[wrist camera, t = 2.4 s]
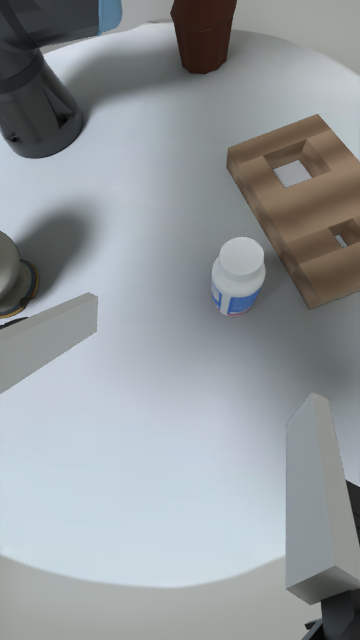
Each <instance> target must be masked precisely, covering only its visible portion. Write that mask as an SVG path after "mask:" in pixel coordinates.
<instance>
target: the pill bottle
mask: <svg viewBox="0 0 360 640" xmlns="http://www.w3.org/2000/svg"><path fill="white" fill-rule="evenodd" d="M263 261H264V251H263V249H262V247H261V245H260V244H259V243H258V242H257V241H255V240H253V239H251V238H248V237H236V238H233V239H231V240H229V241H227V242H226V243H225V244H224V245H223V246H222V248H221V250H220V253H219V256H218V257H217V259H216V260H215V262H214V264H213V267H212V301H213V304H214V306H215V308H216V309H217V310H218V311H219V312H220V313H222V314H224V315H227V316H240V315H242V314H244V313H246V312H247V311H248V310H249V309H250V308H251V307H252V305H253V304H254V301H255V299H256V297H257V295H258V293H259V291H260V288H261V286H262V284H263V282H264V279H265V274H266V269H265V265H264V262H263Z"/></svg>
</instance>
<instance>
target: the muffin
mask: <svg viewBox="0 0 360 640" xmlns="http://www.w3.org/2000/svg"><path fill="white" fill-rule="evenodd" d="M236 2H237V0H174V4H173V6H172V10H171V13H170V14H171V17H172V20H173V22H174V27H175V32H176V37H177V42H178V47H179V52H180V57H181V62H182V67H183V68H185V69H186V70H188V71H189V72H190V73H199V74H205V73H208V72H210V71H214V70H218V68H219V67H220V66H221V65H222V64H223V63H224V62H226V58H227V51H228V45H229V39H230V32H231V26H232V20H233V14H234V11H235V8H236Z"/></svg>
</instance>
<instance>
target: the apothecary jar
mask: <svg viewBox="0 0 360 640" xmlns="http://www.w3.org/2000/svg"><path fill="white" fill-rule="evenodd" d="M38 286H39V276H38V272H37V270H36V268H35V267H34V266H33V265H32V264H31V263H30V262H28V261H25V260H22V259H20V256H19V252H18V249H17V247H16V245H15V244H14V242H13V241H12V240H11V238H10V237H9V236H7V235H6V234H5V233H3V232H1V231H0V319H1V318H7V317H11V316H13V315H15V314H17V313H19V312H20V311H22V310H23V309H24V308H25V306H26V304H27V302H28V300H30V299H32V298H33V297H34V296H35V294H36V292H37V289H38Z"/></svg>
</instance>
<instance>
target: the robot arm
mask: <svg viewBox="0 0 360 640" xmlns="http://www.w3.org/2000/svg"><path fill="white" fill-rule="evenodd" d="M121 19H122V3H121V0H0V132H1V134H2V136H3V138H4V139H5V141H6V142H7V143H8V144H9V146H10V147H11V148H12V149H13V151H14V152H15V153H17V154H18V155H20V156H23V157H27V158H40V157H45V156H49V155H51V154H54V153H56V152H58V151H60V150H62V149H63V148H65V147H66V146H68V145H69V144H70V143H71V142H72V141H73V140H74V139H75V138H76V136H77V135H78V134H79V132H80V130H81V127H82V124H83V117H82V114H81V111H80V109H79V107H78V105H77V103H76V101H75V99H74V98H73V96H72V95H71V94H70V92H69V91H68V90H67V89H66V87H65V86H64V85H63V83H62V82H61V81H60V80H59V78H58V77H57V76H56V75H55V73H54V72H53V71H52V69H51V68H50V67H49V66H48V64H47V63H46V61H45V59H44V57H43V55H42V53H41V51H40V49H39V48H40V47H44V46H49V45H54V44H59V43H64V42H68V41H73V40H78V39H82V38H87V37H92V36H100V35H101V33H103V32H106V31H109V30H111V29H114V28H116V27H117V26H118V25H119V24H120V22H121ZM97 308H98V296H95V295H93V294H91V293H89V292H88V293H85V294H83V295H81V296H78V297H76V298H74V299H71V300H69V301H67V302H64V303H62V304H60V305H57V306H55V307H53V308H50V309H48V310H46V311H43V312H41V313H38V314H36V315H34V316H31V317H24V318H19V319H15V320H12V321H10V322H7V323H5V324H4V325H0V394H1V393H3V392H4V391H6V390H8V389H9V388H11V387H12V386H14V385H15V384H17V383H18V382H20V381H21V380H23V379H24V378H26V377H28V376H29V375H31V374H32V373H34V372H35V371H37V370H38V369H40V368H41V367H43V366H44V365H46V364H48V363H49V362H51V361H52V360H54V359H55V358H57V357H58V356H60V355H61V354H63V353H64V352H66V351H68V350H69V349H71V348H72V347H74V346H75V345H77V344H78V343H80V342H81V341H83V340H84V339H86V338H88V337H89V336H91V335H92V334H94V333H95V332H97ZM285 580H286V581H285V586H286V587H285V588H286V590H288V591H289V592H291V593H292V594H294V595H296V596H297V597H298V598H300V599H302V600H303V601H305V602H306V603H308V604H309V605H312V604H315V603H318V602H321V610H322V618H321V619H317V620H314V621H310V622H308V623H306V624H305V627H306V629H307V630H309V629H310V631H309V632H308V633H307V634H306V635H305V636H304V638H303V639H302V640H360V487H358V486H356V485H355V484H353V483H351V482H349V481H347V480H345V476H344V471H343V466H342V462H341V457H340V452H339V448H338V443H337V438H336V434H335V429H334V424H333V420H332V415H331V410H330V405H329V401H328V398H326V397H323V396H321V395H319V394H317V393H314V392H311V393H310V394H309V396H308V397H307V398H306V400H305V401H304V402H303V403H302V405H301V406H300V407H299V409H298V410H297V411H296V412H295V414H294V415H293V416H292V418H291V419H290V420H289V421H288V423H287V424H286V577H285Z"/></svg>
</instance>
